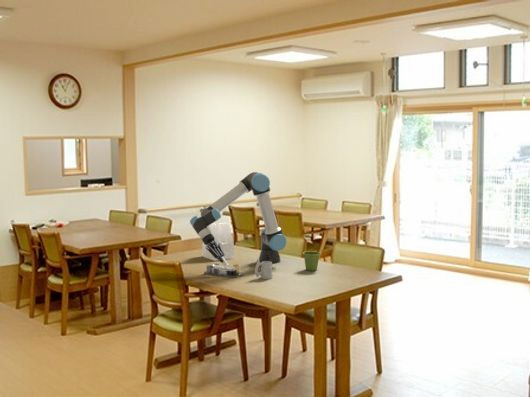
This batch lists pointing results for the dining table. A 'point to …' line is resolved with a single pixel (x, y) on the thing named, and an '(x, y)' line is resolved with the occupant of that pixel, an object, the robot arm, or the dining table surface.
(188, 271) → the dining table surface
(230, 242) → the white box
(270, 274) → the mug
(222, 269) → the white flat bar
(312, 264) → the plant pot
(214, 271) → the base
